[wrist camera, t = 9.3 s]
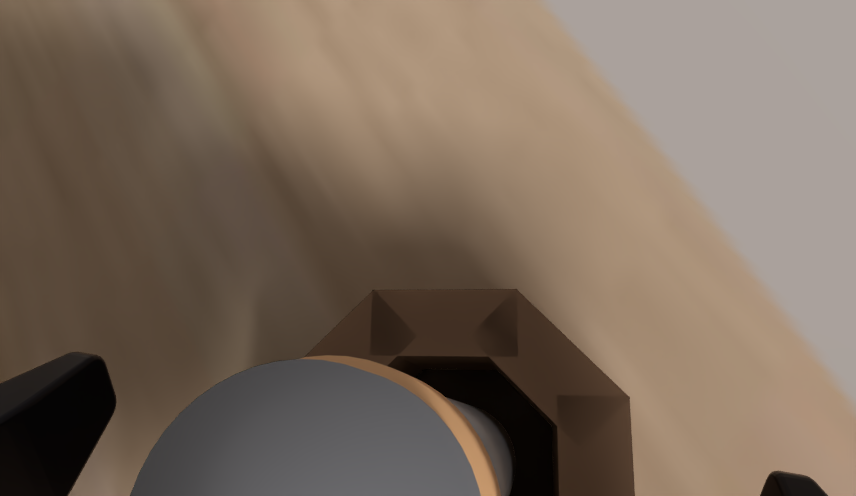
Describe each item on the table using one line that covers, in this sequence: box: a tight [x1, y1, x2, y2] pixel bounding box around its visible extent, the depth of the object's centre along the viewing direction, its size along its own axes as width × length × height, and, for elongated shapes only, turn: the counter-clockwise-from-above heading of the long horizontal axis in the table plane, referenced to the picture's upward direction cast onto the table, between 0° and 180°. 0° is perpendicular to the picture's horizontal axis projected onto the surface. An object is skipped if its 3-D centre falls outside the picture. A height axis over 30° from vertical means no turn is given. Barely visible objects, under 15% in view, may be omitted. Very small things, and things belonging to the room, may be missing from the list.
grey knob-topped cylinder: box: [130, 355, 516, 496], centre depth 11 cm, size 3×3×12 cm
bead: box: [305, 289, 635, 496], centre depth 15 cm, size 7×7×4 cm
